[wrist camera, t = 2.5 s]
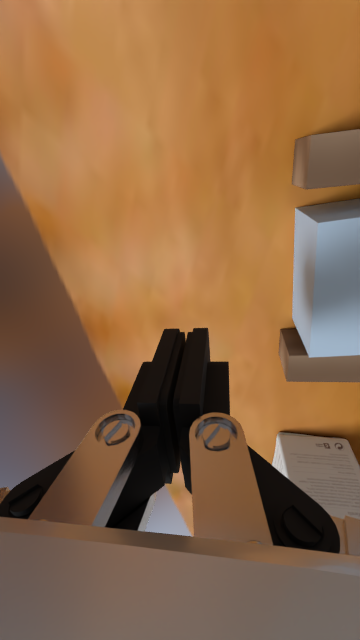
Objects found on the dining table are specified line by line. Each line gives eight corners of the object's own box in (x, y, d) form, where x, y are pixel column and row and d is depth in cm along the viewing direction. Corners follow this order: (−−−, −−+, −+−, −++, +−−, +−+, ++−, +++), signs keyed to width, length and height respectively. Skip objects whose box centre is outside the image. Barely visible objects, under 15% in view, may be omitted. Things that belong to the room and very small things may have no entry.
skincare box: (276, 429, 24) (335, 736, 11) (351, 436, 23) (508, 775, 10) (265, 486, 28) (299, 758, 15) (328, 493, 27) (420, 786, 15)
